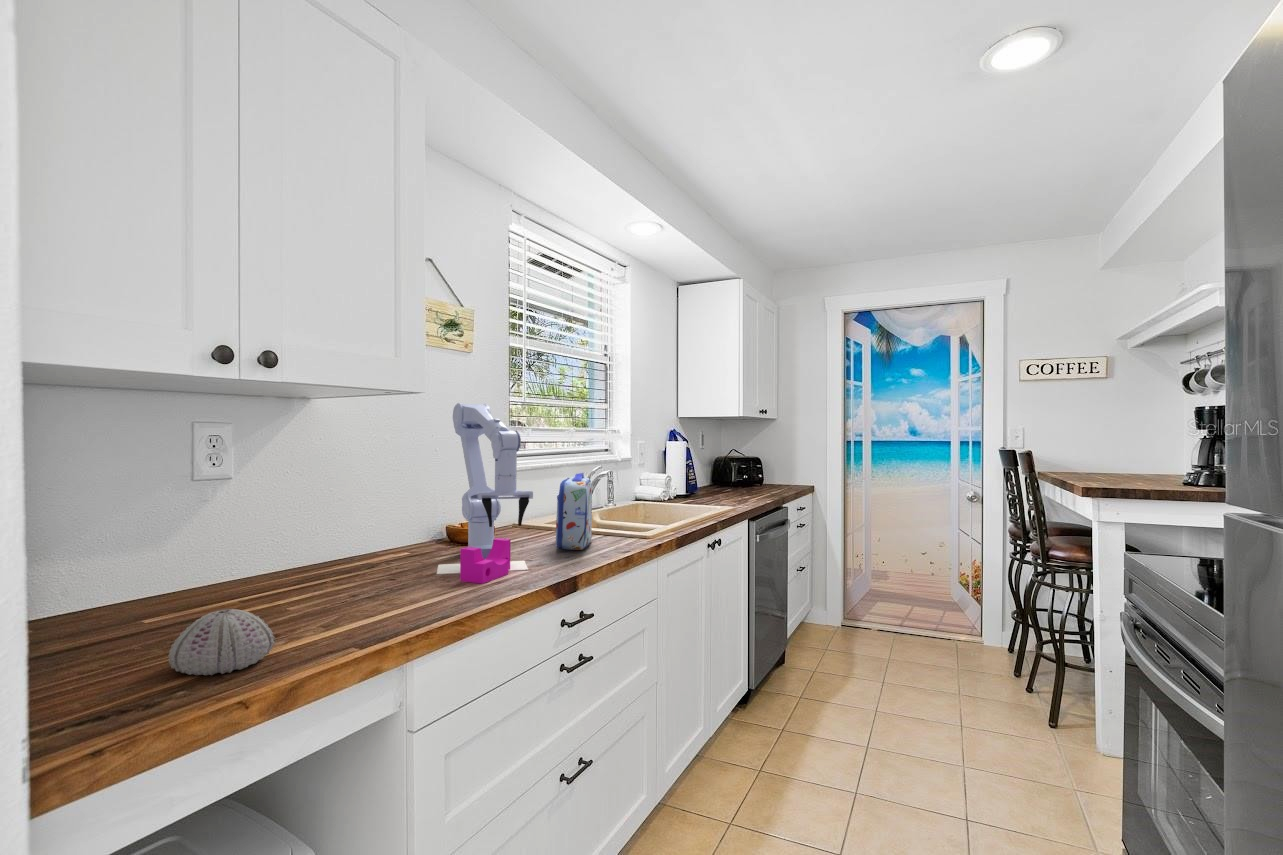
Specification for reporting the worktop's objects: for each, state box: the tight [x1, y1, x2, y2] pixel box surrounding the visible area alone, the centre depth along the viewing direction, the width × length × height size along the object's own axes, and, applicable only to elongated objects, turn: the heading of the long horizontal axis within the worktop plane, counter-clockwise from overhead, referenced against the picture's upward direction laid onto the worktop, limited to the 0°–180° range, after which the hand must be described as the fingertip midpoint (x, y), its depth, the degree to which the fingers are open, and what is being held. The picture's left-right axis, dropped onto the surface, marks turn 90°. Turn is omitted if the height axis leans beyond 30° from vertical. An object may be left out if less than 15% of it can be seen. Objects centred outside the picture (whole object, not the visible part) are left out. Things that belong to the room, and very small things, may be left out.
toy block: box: [459, 537, 512, 585], centre depth 154 cm, size 15×6×8 cm, turn 158°
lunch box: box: [555, 472, 593, 551], centre depth 195 cm, size 28×10×22 cm, turn 3°
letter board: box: [436, 560, 529, 575], centre depth 163 cm, size 11×22×1 cm, turn 105°
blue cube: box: [473, 545, 492, 560], centre depth 163 cm, size 5×5×5 cm
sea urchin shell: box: [167, 608, 276, 676], centre depth 96 cm, size 13×14×8 cm
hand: (505, 525), depth 172 cm, fingers open, 7 cm apart
